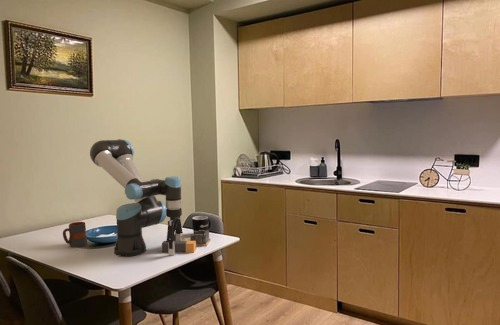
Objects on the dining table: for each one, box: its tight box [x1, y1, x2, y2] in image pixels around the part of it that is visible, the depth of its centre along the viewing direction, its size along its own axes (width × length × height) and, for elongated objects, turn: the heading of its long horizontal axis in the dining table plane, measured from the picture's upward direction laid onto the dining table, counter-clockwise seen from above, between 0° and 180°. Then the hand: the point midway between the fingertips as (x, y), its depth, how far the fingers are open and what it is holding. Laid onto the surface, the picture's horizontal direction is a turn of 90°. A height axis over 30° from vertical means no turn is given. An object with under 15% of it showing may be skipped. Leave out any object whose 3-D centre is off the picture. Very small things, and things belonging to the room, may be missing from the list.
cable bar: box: [161, 240, 197, 254], centre depth 187 cm, size 16×5×5 cm, turn 86°
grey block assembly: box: [173, 229, 211, 247], centre depth 199 cm, size 19×10×6 cm, turn 86°
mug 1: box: [62, 221, 88, 248], centre depth 197 cm, size 9×12×12 cm
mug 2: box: [191, 215, 211, 234], centre depth 215 cm, size 12×9×10 cm
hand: (175, 250), depth 187 cm, fingers open, 12 cm apart
